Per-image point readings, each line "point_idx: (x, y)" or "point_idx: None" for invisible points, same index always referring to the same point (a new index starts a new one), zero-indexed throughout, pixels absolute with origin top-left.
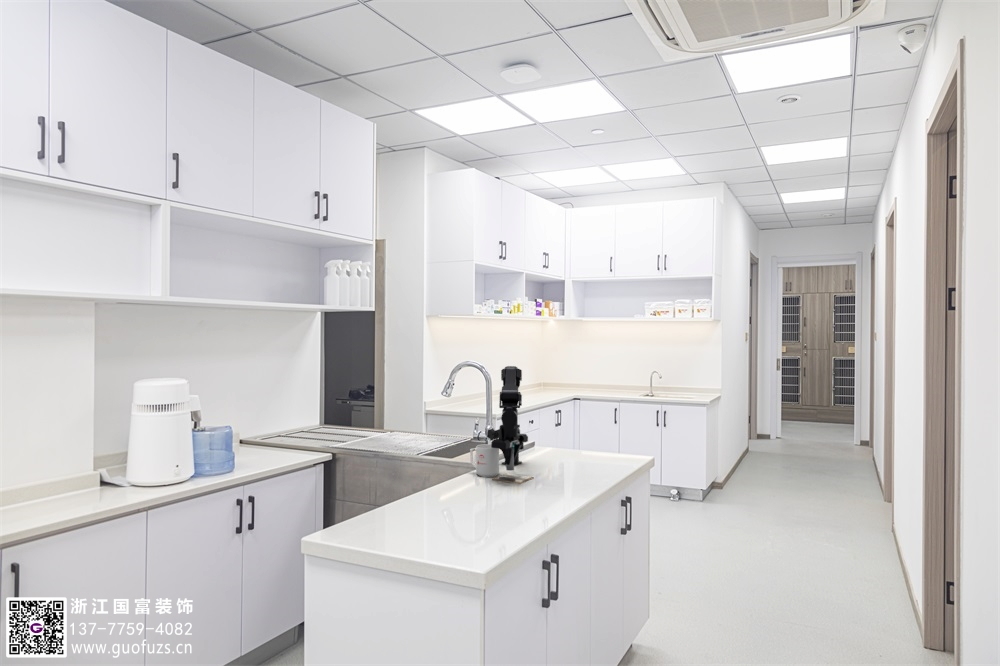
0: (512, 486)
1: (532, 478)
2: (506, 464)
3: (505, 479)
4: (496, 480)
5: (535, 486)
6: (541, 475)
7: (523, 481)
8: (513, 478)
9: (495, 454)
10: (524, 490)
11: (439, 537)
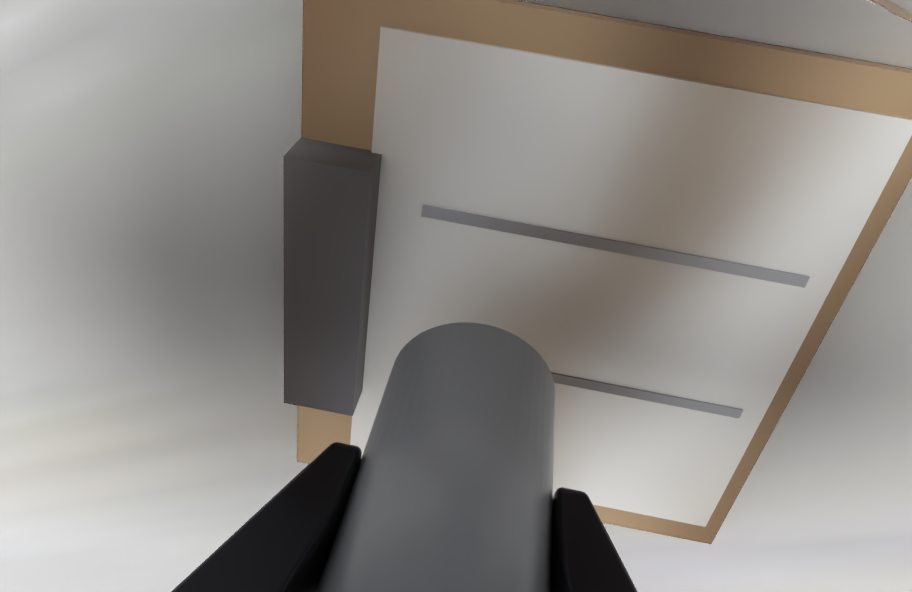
0: (133, 392)
1: (664, 523)
2: (409, 411)
3: (290, 273)
4: (307, 79)
5: None
6: (895, 585)
7: None
8: (330, 396)
9: (887, 5)
10: (64, 524)
11: None
